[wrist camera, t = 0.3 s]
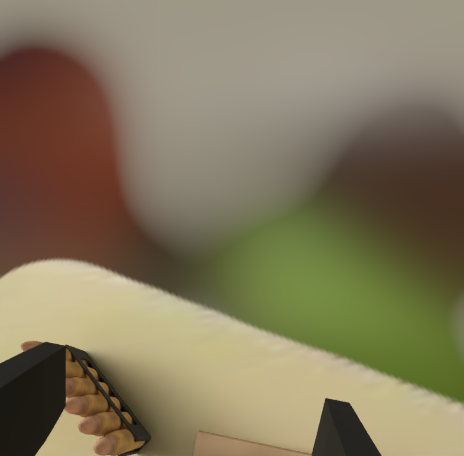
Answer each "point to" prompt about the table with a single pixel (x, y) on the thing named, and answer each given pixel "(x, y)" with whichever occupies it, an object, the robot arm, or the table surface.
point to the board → (236, 447)
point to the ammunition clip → (99, 406)
